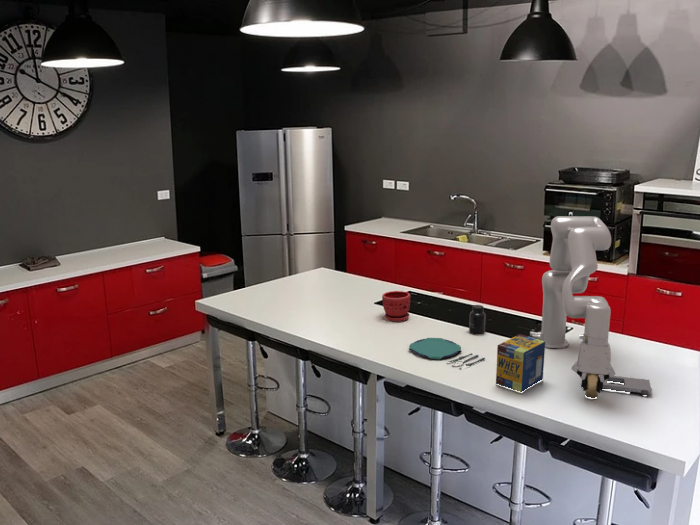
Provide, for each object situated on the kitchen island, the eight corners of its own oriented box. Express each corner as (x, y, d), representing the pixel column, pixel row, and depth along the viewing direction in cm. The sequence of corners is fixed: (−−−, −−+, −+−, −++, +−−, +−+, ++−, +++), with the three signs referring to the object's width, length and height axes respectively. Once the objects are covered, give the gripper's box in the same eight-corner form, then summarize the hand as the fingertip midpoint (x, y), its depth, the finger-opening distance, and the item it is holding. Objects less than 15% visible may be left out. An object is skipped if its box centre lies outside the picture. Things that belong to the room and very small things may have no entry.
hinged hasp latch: (581, 388, 219) (582, 382, 219) (582, 377, 228) (582, 371, 227) (650, 397, 212) (651, 391, 211) (648, 385, 220) (649, 379, 220)
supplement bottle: (467, 333, 274) (467, 307, 271) (471, 328, 279) (472, 303, 277) (482, 336, 270) (483, 309, 268) (486, 331, 276) (487, 305, 273)
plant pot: (410, 314, 300) (410, 290, 298) (410, 323, 288) (410, 298, 285) (383, 313, 302) (382, 289, 299) (381, 322, 289) (381, 298, 286)
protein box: (495, 385, 223) (496, 344, 219) (518, 372, 233) (520, 333, 230) (521, 394, 216) (523, 352, 212) (543, 380, 226) (546, 340, 222)
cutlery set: (434, 338, 269) (434, 333, 268) (489, 360, 246) (489, 355, 245) (400, 350, 257) (400, 345, 256) (454, 374, 234) (454, 369, 234)
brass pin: (584, 399, 211) (586, 371, 209) (584, 394, 215) (586, 367, 213) (597, 400, 210) (599, 373, 208) (597, 395, 214) (599, 368, 211)
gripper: (568, 340, 207) (565, 391, 211) (623, 346, 201) (618, 398, 206) (569, 333, 214) (565, 382, 218) (622, 338, 208) (617, 389, 212)
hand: (591, 389), depth 212 cm, fingers closed on brass pin, 4 cm apart
